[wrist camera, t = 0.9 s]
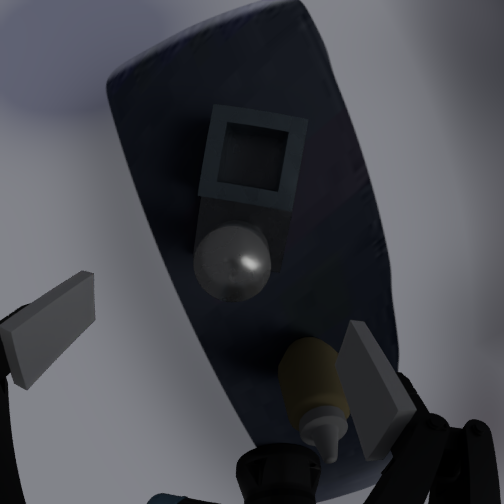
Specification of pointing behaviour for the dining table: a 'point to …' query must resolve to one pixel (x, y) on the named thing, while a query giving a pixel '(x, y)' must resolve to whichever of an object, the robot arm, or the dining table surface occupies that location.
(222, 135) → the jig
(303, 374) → the squeeze bottle
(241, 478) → the robot arm
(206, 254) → the dark grey round knob
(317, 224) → the dining table surface
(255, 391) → the dining table surface
